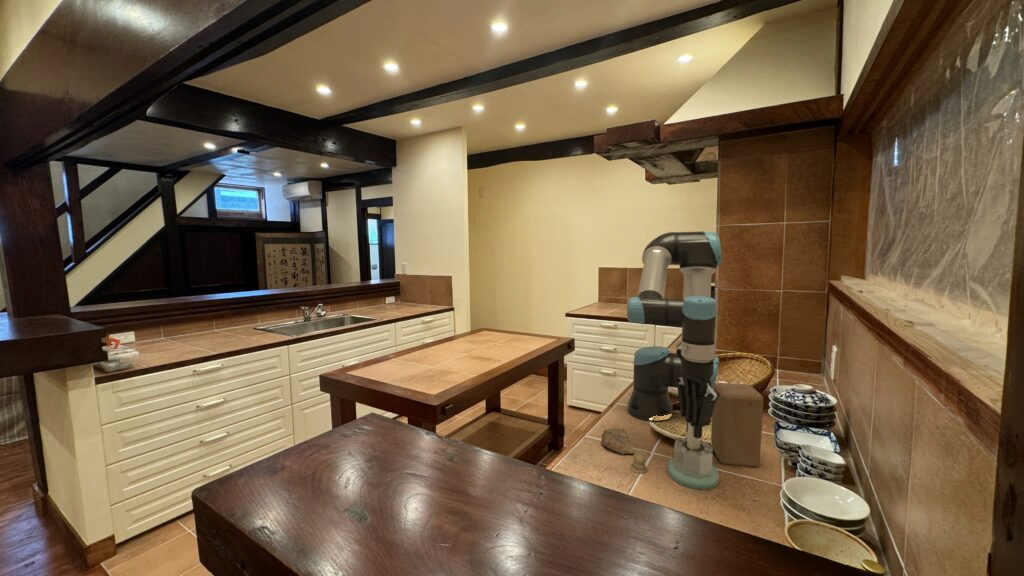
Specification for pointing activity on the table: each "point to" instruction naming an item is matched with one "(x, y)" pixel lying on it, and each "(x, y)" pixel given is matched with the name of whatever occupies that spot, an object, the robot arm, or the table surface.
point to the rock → (617, 441)
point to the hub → (693, 482)
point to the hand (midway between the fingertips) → (693, 447)
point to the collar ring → (693, 459)
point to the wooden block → (737, 424)
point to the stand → (639, 463)
